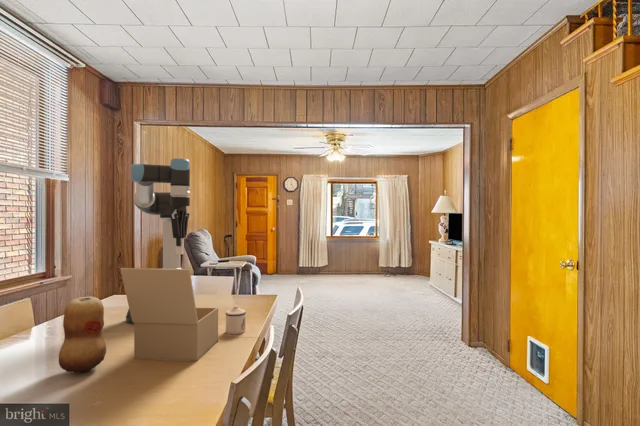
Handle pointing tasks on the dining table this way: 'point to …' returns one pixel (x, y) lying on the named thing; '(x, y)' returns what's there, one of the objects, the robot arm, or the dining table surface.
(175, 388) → the dining table surface
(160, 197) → the robot arm
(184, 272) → the carton lid
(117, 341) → the dining table surface
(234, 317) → the teacup with lid
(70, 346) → the butternut squash
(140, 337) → the carton
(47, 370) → the dining table surface
